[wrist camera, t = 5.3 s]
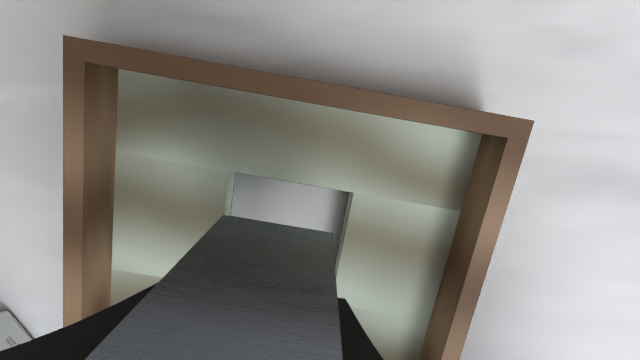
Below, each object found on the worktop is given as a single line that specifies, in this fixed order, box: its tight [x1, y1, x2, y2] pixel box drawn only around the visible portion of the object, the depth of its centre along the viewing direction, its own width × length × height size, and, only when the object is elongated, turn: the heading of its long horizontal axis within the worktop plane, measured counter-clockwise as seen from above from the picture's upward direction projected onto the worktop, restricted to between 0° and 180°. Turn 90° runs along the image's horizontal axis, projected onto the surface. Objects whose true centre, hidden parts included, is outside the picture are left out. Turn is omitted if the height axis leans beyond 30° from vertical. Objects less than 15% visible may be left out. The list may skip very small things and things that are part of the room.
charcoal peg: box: [85, 215, 343, 360], centre depth 8 cm, size 4×4×7 cm
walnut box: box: [63, 35, 534, 360], centre depth 15 cm, size 15×18×4 cm
